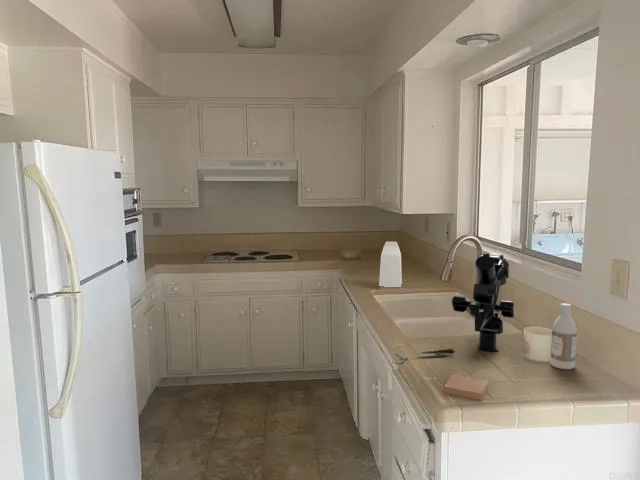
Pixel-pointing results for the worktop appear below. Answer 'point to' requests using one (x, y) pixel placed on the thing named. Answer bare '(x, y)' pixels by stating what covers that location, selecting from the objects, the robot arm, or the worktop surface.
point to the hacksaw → (432, 356)
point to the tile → (466, 387)
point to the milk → (390, 266)
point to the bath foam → (564, 340)
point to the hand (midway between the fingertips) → (479, 329)
